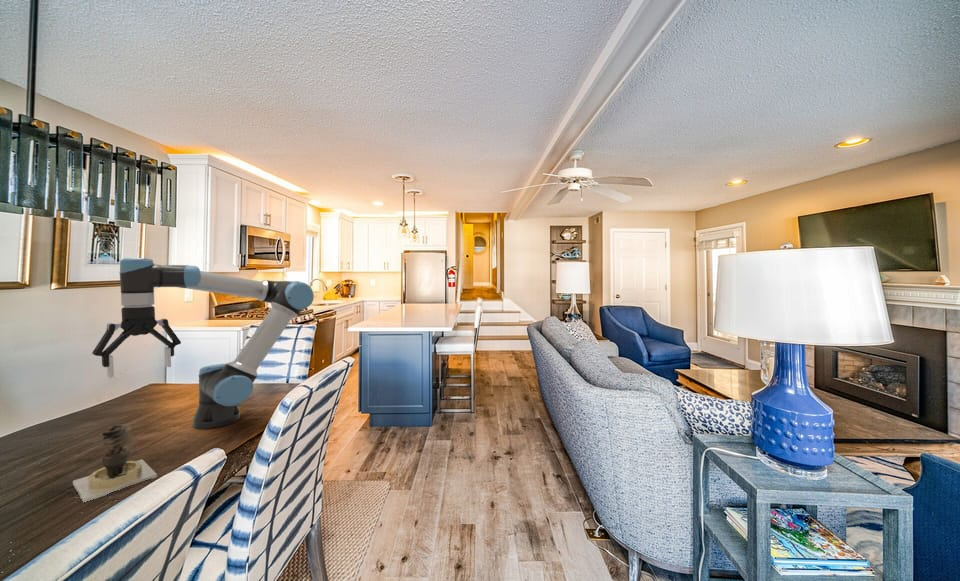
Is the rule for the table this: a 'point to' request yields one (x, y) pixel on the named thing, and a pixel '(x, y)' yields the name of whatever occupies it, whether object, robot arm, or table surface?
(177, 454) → the table surface
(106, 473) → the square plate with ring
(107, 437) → the dark brown lumpy column
